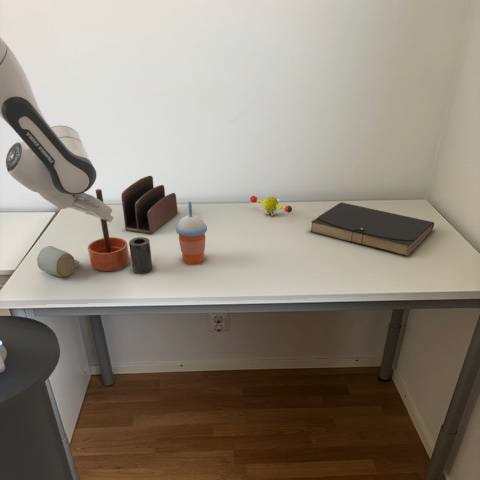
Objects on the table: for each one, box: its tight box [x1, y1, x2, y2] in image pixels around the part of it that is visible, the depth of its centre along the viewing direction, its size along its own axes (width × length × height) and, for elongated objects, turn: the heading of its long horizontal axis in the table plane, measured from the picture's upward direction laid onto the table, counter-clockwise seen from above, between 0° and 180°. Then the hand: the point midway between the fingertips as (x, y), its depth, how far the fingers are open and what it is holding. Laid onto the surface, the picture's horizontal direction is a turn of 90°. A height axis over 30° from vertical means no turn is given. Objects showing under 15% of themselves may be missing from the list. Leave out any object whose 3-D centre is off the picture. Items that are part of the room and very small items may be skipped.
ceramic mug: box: [36, 245, 80, 278], centre depth 147 cm, size 11×8×8 cm
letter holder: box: [121, 175, 179, 235], centre depth 176 cm, size 10×20×14 cm, turn 159°
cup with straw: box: [175, 201, 208, 265], centre depth 150 cm, size 9×9×18 cm
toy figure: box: [249, 195, 293, 217], centre depth 181 cm, size 18×6×7 cm, turn 49°
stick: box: [95, 188, 112, 253], centre depth 146 cm, size 2×2×22 cm
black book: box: [310, 201, 435, 257], centre depth 169 cm, size 33×4×24 cm
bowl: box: [87, 236, 130, 272], centre depth 151 cm, size 11×11×6 cm
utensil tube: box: [128, 236, 154, 275], centre depth 147 cm, size 6×6×9 cm
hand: (100, 215), depth 144 cm, fingers open, 8 cm apart
